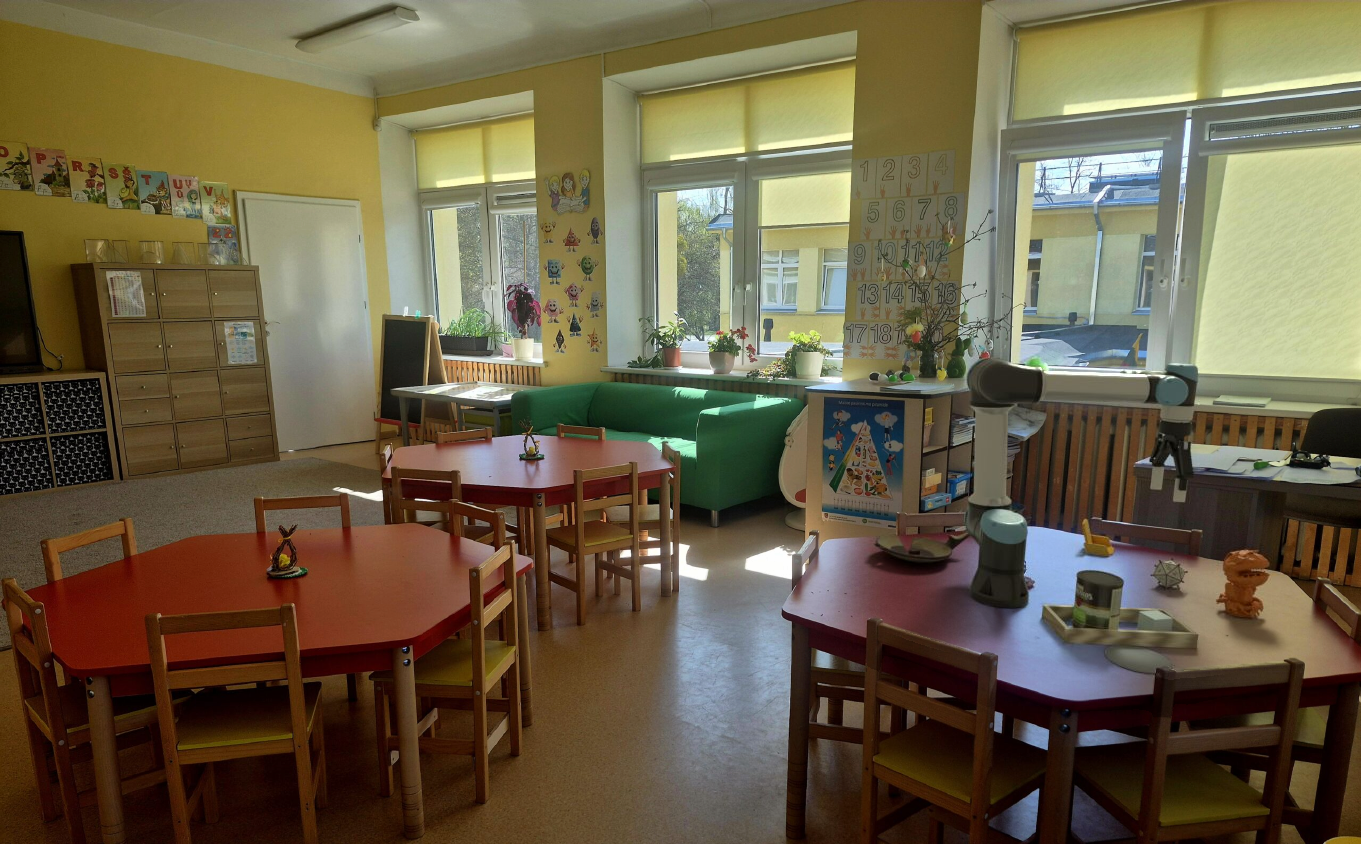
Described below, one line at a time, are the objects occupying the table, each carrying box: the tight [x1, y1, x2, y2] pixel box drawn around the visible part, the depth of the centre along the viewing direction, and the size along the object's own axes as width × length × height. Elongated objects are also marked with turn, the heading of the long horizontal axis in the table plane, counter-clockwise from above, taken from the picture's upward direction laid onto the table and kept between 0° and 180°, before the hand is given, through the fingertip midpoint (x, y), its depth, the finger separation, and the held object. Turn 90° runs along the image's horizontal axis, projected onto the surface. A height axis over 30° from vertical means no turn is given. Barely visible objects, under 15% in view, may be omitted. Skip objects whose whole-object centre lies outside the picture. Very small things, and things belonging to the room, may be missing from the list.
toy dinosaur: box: [1215, 549, 1271, 619], centre depth 202 cm, size 11×11×18 cm
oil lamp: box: [874, 531, 970, 564], centre depth 243 cm, size 22×30×8 cm
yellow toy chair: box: [1081, 518, 1115, 557], centre depth 253 cm, size 10×10×9 cm
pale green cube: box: [1136, 610, 1173, 632], centre depth 191 cm, size 5×5×5 cm
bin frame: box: [1041, 604, 1200, 649], centre depth 191 cm, size 30×15×4 cm, turn 85°
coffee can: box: [1071, 569, 1125, 630], centre depth 191 cm, size 10×10×14 cm
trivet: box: [1104, 645, 1172, 675], centre depth 177 cm, size 13×13×1 cm
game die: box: [1149, 557, 1189, 591], centre depth 221 cm, size 9×8×10 cm
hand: (1167, 495), depth 216 cm, fingers open, 13 cm apart
